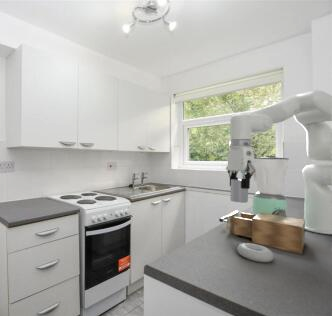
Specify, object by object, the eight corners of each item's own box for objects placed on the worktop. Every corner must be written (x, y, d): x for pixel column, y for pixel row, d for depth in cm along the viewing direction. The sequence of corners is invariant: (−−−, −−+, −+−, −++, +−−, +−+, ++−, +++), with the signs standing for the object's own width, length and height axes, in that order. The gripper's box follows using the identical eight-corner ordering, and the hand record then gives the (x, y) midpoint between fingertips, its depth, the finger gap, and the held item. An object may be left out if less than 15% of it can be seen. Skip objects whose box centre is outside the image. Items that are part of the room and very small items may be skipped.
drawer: (216, 231, 98) (216, 213, 98) (225, 225, 107) (226, 209, 107) (265, 242, 85) (266, 222, 85) (271, 234, 95) (271, 216, 95)
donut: (279, 267, 68) (266, 253, 78) (279, 256, 68) (266, 243, 78) (242, 261, 71) (233, 248, 81) (242, 250, 71) (233, 239, 81)
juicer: (298, 234, 98) (300, 156, 98) (267, 233, 99) (269, 155, 98) (266, 221, 117) (267, 156, 117) (240, 221, 118) (242, 156, 117)
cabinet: (251, 242, 88) (252, 218, 88) (259, 233, 98) (259, 212, 98) (301, 254, 78) (302, 227, 77) (304, 243, 88) (305, 219, 87)
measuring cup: (227, 199, 95) (227, 178, 95) (240, 199, 95) (240, 179, 95) (237, 202, 89) (237, 180, 89) (251, 202, 89) (251, 180, 89)
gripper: (266, 143, 84) (265, 190, 84) (234, 145, 101) (233, 184, 101) (247, 143, 83) (246, 190, 83) (218, 145, 100) (217, 184, 100)
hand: (239, 186), depth 92 cm, fingers closed on measuring cup, 6 cm apart
